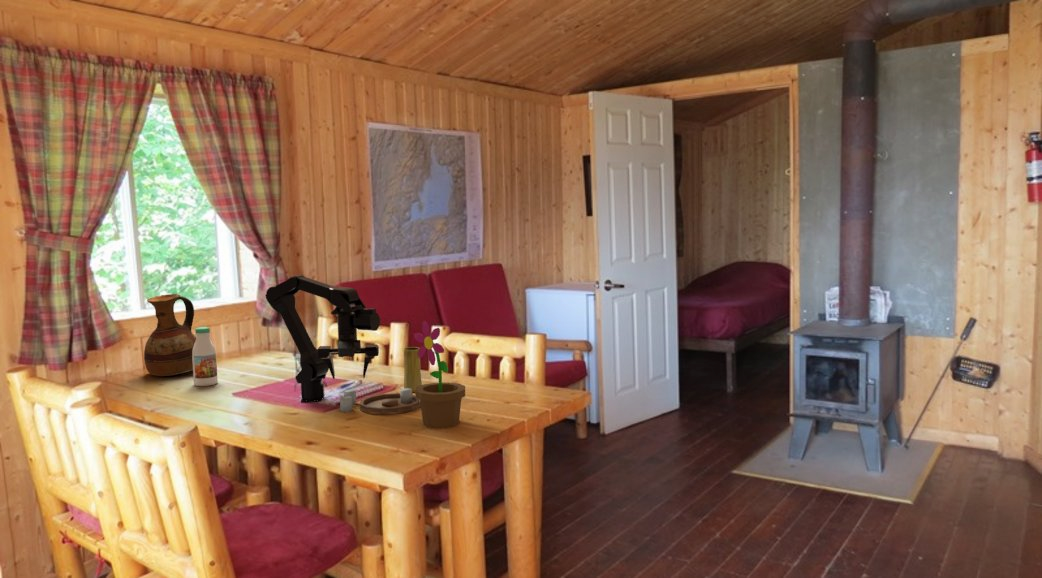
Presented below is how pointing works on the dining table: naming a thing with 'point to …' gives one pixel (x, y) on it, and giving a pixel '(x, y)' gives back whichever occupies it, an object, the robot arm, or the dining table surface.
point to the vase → (412, 368)
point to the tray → (387, 404)
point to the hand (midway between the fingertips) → (349, 378)
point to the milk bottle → (204, 359)
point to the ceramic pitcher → (170, 338)
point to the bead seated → (406, 395)
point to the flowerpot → (437, 387)
